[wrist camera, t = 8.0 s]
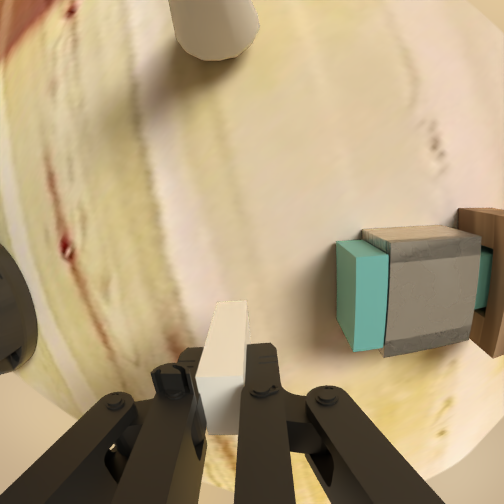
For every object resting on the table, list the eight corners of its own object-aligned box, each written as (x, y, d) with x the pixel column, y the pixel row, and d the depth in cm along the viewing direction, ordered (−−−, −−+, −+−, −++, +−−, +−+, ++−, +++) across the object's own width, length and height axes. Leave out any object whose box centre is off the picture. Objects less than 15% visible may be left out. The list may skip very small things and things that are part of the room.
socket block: (449, 322, 23) (492, 358, 16) (458, 208, 21) (513, 218, 14) (481, 315, 23) (525, 346, 16) (490, 207, 21) (544, 217, 14)
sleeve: (360, 322, 23) (383, 357, 18) (361, 229, 22) (390, 242, 16) (434, 311, 23) (468, 339, 17) (440, 225, 21) (481, 236, 16)
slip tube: (336, 318, 23) (353, 352, 18) (335, 241, 22) (356, 257, 17) (476, 298, 22) (509, 319, 17) (481, 231, 21) (520, 242, 16)
